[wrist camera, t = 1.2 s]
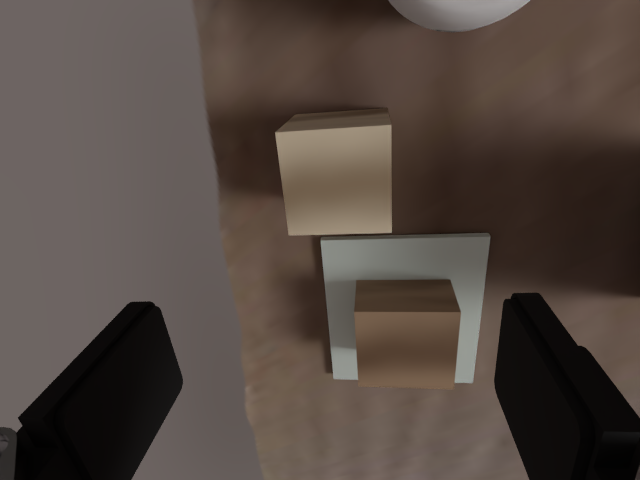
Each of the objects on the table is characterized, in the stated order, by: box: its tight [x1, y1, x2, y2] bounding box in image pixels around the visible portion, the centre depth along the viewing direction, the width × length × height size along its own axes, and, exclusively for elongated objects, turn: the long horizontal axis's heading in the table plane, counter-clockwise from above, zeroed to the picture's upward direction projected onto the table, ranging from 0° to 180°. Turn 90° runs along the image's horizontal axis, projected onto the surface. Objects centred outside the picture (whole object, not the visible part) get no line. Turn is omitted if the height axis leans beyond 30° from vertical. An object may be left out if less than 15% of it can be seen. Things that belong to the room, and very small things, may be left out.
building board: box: [320, 233, 491, 383], centre depth 31 cm, size 14×12×1 cm
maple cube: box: [275, 108, 392, 235], centre depth 24 cm, size 6×6×6 cm
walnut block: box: [354, 279, 461, 389], centre depth 29 cm, size 7×7×4 cm
